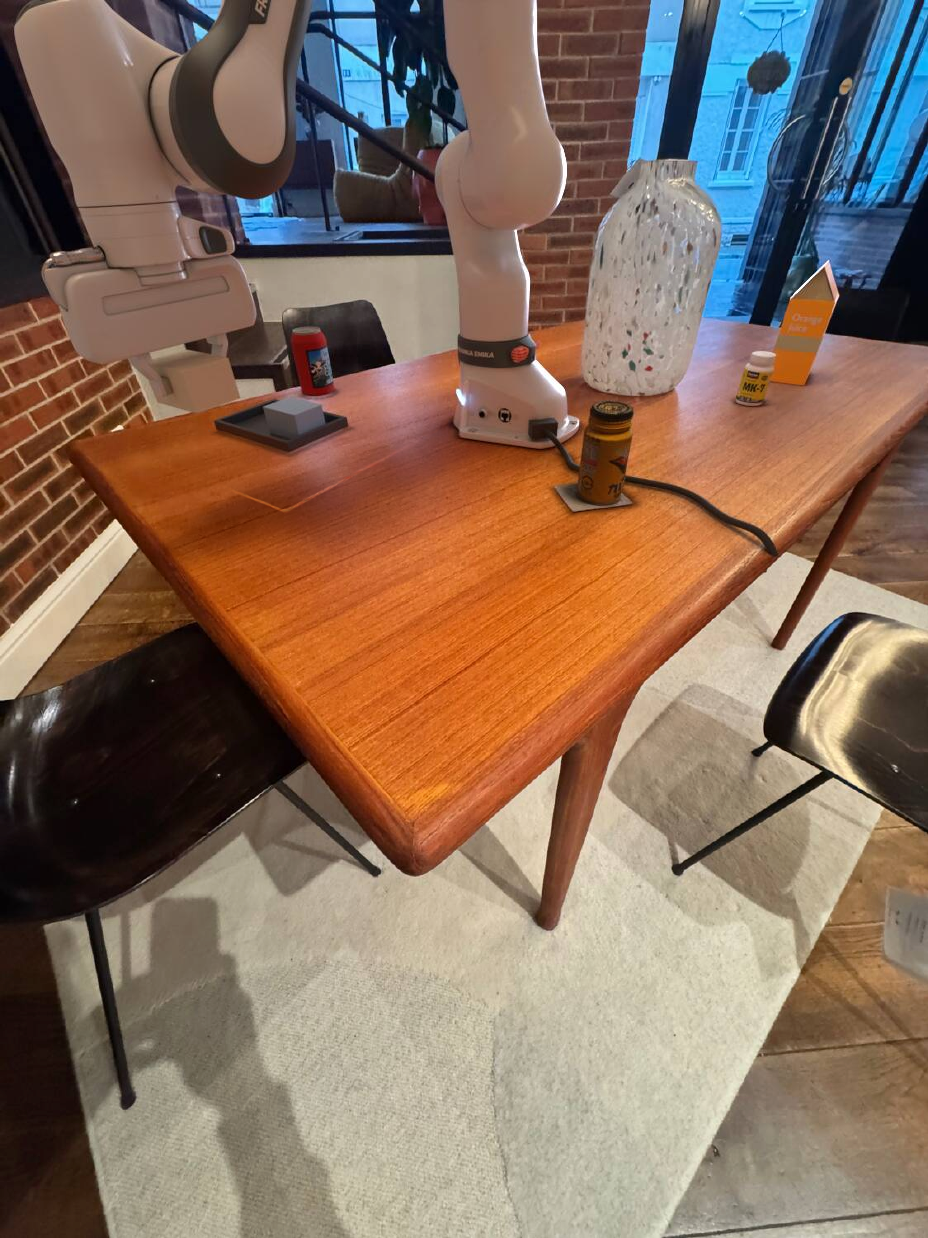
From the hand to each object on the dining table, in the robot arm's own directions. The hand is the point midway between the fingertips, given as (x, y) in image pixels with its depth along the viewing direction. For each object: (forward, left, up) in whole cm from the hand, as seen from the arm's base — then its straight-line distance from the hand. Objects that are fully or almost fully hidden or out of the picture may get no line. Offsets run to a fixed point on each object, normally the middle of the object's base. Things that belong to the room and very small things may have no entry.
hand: (194, 385), depth 61 cm
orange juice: (-52, -99, -16) cm, 113 cm away
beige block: (0, 0, -2) cm, 2 cm away
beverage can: (+27, -41, -16) cm, 52 cm away
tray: (+17, -23, -16) cm, 33 cm away
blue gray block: (+13, -23, -15) cm, 30 cm away
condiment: (-40, -29, -16) cm, 52 cm away
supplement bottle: (-49, -79, -16) cm, 94 cm away
